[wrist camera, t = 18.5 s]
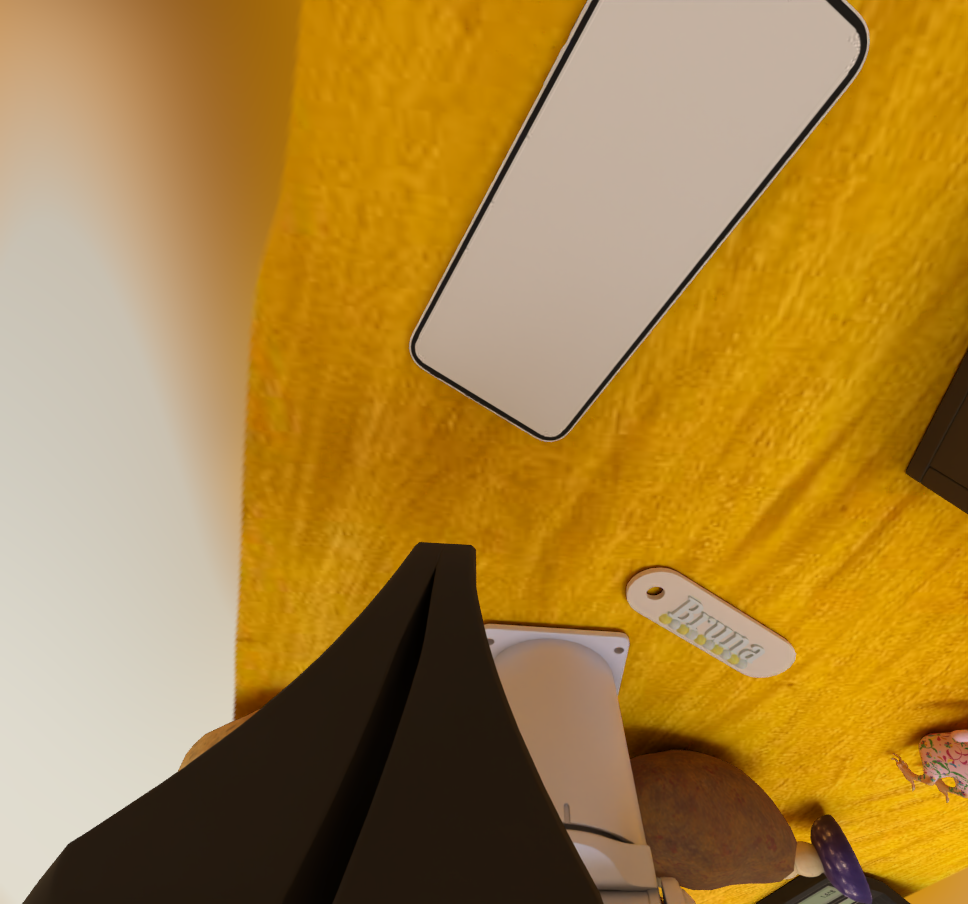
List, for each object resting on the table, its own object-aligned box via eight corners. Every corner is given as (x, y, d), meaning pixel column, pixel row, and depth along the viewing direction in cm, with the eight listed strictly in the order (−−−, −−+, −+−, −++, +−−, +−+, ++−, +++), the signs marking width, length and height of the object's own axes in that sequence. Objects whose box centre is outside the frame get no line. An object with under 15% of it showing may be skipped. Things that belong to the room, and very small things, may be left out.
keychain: (615, 603, 22) (658, 566, 21) (613, 594, 22) (655, 557, 21) (764, 690, 24) (812, 661, 23) (759, 680, 24) (805, 651, 23)
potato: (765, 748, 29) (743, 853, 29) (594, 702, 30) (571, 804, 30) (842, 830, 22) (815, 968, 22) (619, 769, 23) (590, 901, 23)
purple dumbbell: (883, 933, 26) (605, 940, 30) (838, 855, 31) (601, 870, 35) (862, 859, 26) (585, 876, 30) (820, 792, 31) (584, 814, 34)
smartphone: (398, 355, 17) (675, -169, 10) (403, 351, 18) (667, -148, 11) (555, 451, 18) (888, 40, 12) (555, 444, 19) (871, 48, 12)
